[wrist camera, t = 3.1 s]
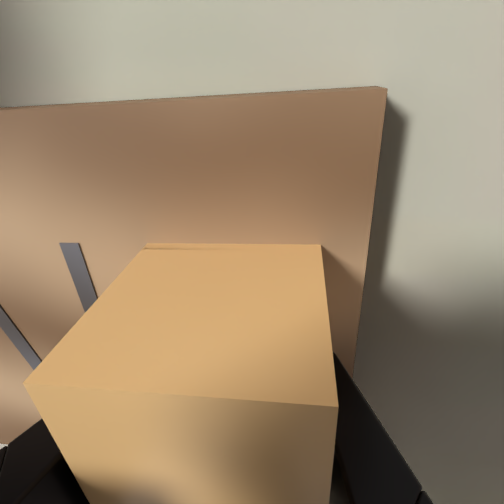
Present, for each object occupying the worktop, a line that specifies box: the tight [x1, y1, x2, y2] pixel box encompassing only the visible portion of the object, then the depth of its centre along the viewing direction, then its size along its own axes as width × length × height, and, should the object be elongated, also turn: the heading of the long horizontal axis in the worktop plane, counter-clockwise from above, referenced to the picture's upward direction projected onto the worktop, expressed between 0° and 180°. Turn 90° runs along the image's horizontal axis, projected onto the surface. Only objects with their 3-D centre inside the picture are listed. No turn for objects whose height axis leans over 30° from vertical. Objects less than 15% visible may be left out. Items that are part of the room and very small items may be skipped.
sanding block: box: [23, 243, 339, 504], centre depth 7 cm, size 6×4×4 cm, turn 3°
